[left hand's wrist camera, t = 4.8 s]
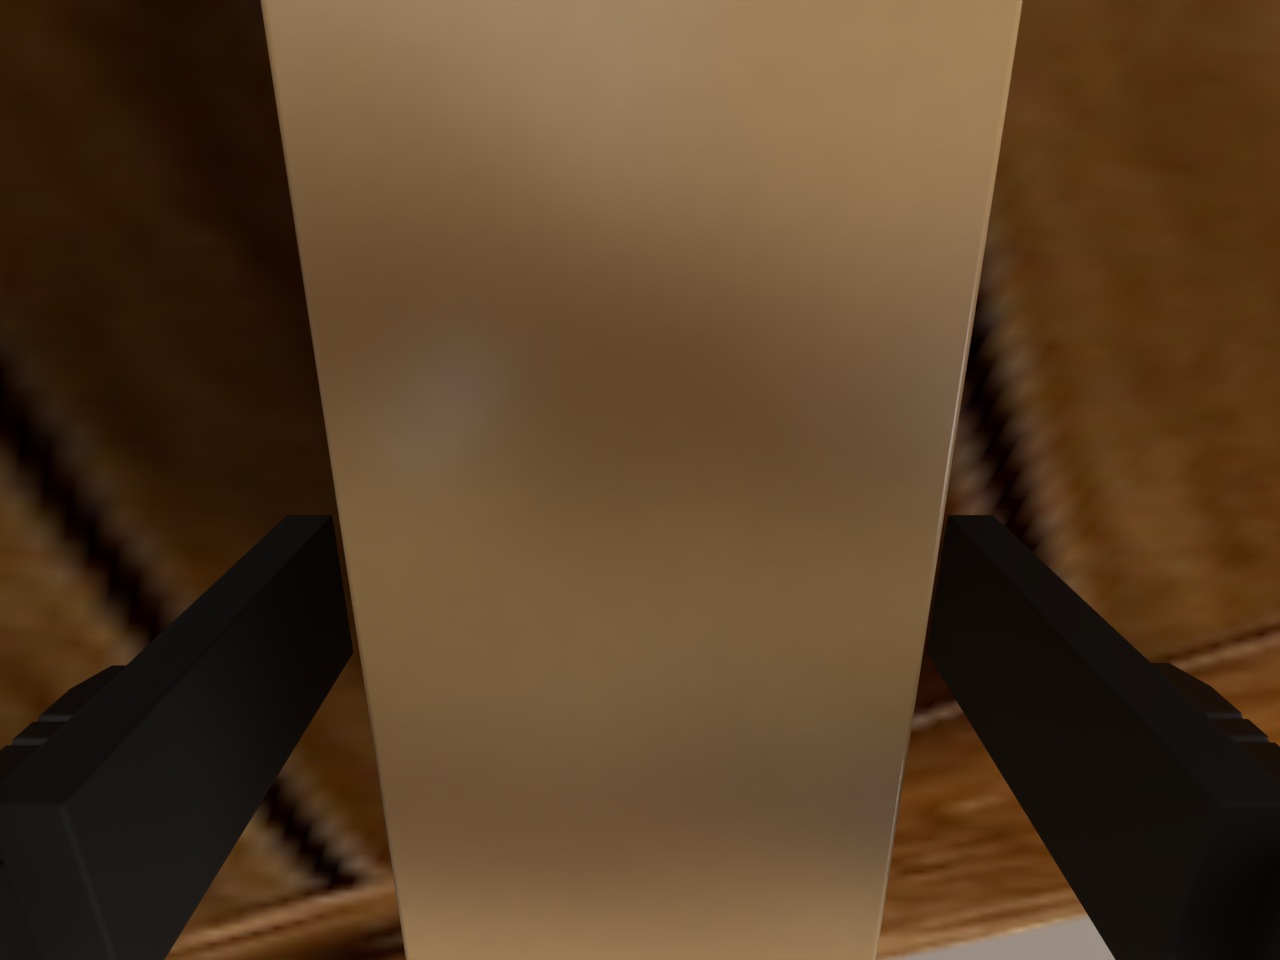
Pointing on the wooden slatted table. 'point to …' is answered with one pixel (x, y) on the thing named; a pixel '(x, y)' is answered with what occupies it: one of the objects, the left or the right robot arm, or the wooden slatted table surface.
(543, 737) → the post
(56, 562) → the wooden slatted table surface
